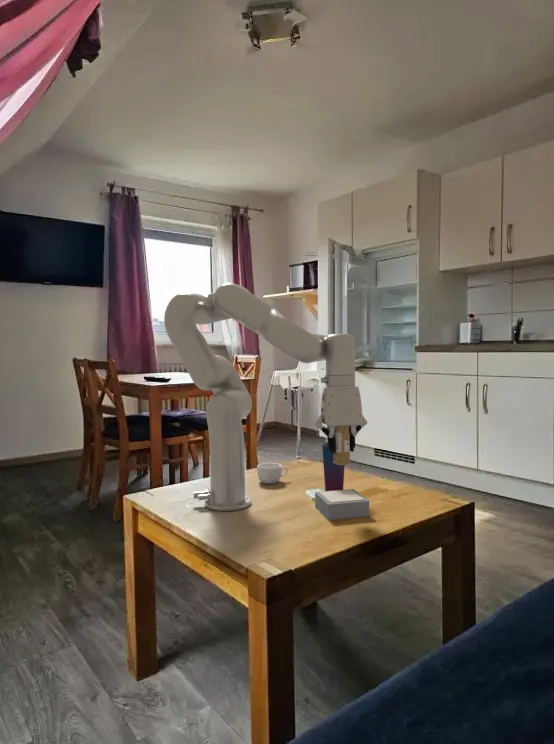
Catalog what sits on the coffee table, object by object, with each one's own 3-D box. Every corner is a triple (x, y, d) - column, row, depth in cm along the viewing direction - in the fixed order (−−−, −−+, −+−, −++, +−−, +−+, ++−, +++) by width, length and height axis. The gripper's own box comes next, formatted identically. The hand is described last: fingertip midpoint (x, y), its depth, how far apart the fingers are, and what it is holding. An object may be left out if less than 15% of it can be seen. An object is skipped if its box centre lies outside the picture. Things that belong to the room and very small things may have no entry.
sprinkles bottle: (353, 464, 132) (352, 412, 132) (336, 466, 131) (335, 413, 131) (346, 460, 137) (346, 410, 136) (330, 462, 136) (329, 411, 135)
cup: (347, 498, 146) (347, 446, 145) (323, 498, 146) (322, 446, 145) (344, 491, 153) (344, 441, 152) (321, 491, 153) (321, 441, 152)
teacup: (260, 486, 159) (260, 469, 159) (254, 480, 167) (254, 463, 167) (291, 483, 162) (291, 466, 162) (284, 477, 170) (284, 461, 169)
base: (328, 520, 128) (328, 503, 128) (315, 506, 139) (314, 491, 139) (369, 516, 131) (369, 500, 131) (353, 503, 142) (353, 488, 141)
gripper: (313, 383, 127) (314, 456, 128) (376, 381, 131) (377, 452, 132) (305, 381, 135) (306, 450, 136) (365, 379, 138) (365, 446, 140)
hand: (341, 450), depth 134 cm, fingers closed on sprinkles bottle, 4 cm apart
